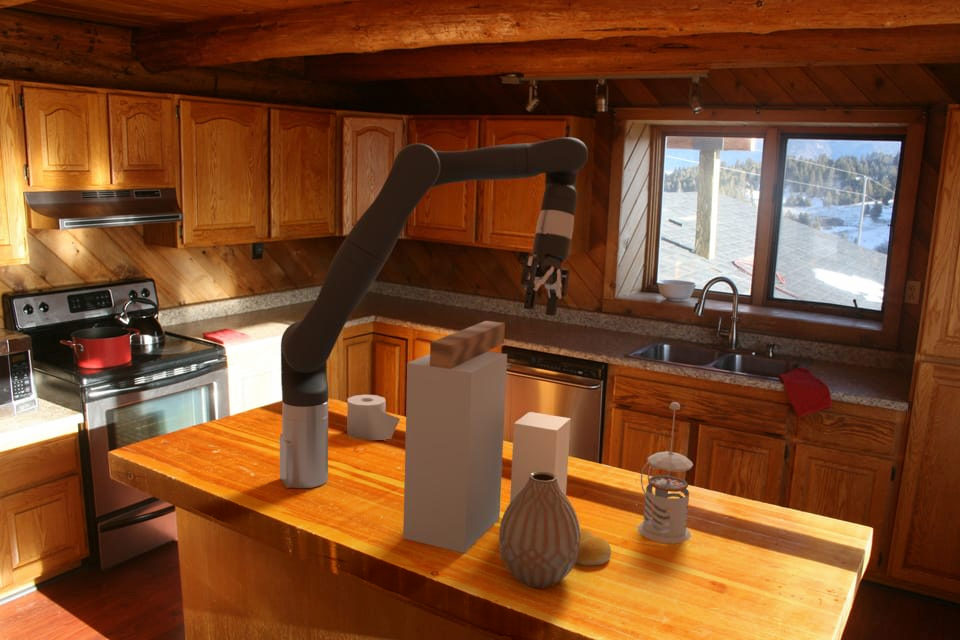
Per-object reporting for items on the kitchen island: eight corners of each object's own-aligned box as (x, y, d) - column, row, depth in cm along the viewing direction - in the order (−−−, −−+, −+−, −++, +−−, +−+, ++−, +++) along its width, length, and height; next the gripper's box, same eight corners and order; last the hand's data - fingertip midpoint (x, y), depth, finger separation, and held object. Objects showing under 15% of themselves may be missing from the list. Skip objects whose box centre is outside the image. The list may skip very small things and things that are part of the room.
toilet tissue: (396, 442, 195) (397, 407, 193) (342, 438, 196) (342, 403, 195) (403, 430, 204) (404, 397, 202) (352, 426, 205) (352, 393, 203)
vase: (555, 607, 123) (561, 499, 120) (481, 582, 130) (486, 478, 127) (591, 573, 134) (598, 473, 131) (521, 551, 141) (526, 455, 138)
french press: (660, 547, 145) (672, 412, 140) (620, 521, 155) (630, 395, 151) (702, 537, 150) (715, 407, 145) (661, 513, 160) (671, 390, 155)
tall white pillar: (464, 553, 140) (471, 372, 134) (403, 538, 144) (407, 363, 139) (499, 518, 154) (507, 354, 148) (442, 506, 159) (447, 346, 153)
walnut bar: (451, 368, 136) (451, 345, 135) (429, 365, 137) (430, 342, 137) (504, 343, 158) (505, 322, 157) (485, 340, 159) (485, 320, 158)
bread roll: (589, 572, 135) (591, 550, 135) (551, 552, 142) (552, 530, 141) (621, 558, 141) (623, 537, 140) (583, 539, 147) (584, 519, 147)
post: (550, 543, 145) (557, 430, 141) (508, 534, 148) (513, 423, 144) (563, 526, 152) (570, 418, 148) (523, 517, 155) (529, 411, 151)
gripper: (555, 242, 175) (542, 315, 175) (519, 226, 164) (505, 305, 163) (585, 244, 171) (572, 319, 170) (551, 228, 159) (536, 309, 159)
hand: (539, 312), depth 167 cm, fingers open, 8 cm apart
